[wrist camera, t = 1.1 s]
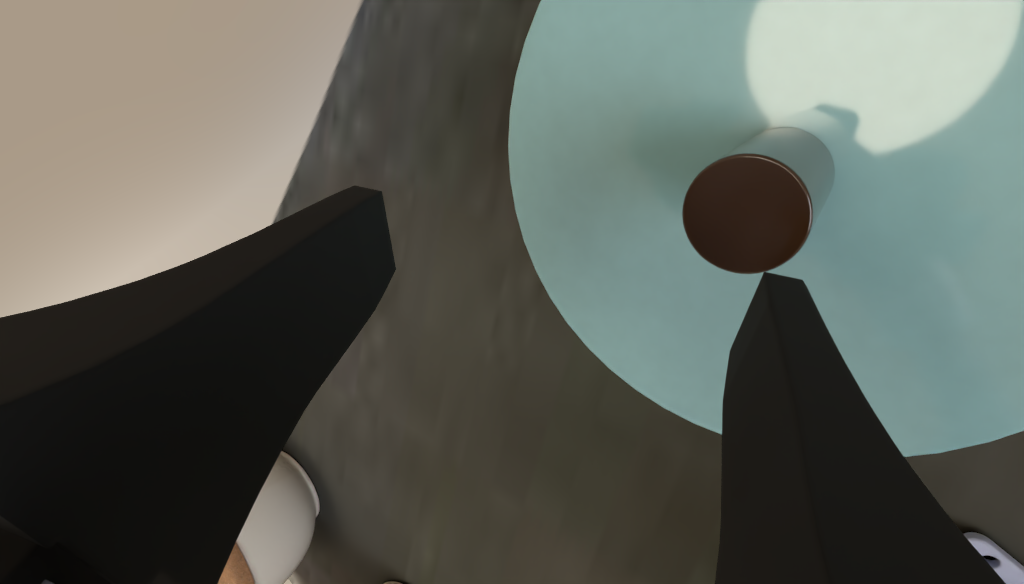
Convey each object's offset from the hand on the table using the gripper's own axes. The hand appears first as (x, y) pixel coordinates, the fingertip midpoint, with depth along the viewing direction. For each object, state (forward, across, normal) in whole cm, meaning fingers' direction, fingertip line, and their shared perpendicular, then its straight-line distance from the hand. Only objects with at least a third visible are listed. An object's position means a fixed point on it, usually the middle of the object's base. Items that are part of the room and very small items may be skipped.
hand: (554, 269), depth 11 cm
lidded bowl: (+9, +24, +40) cm, 47 cm away
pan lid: (+6, -4, +1) cm, 8 cm away
